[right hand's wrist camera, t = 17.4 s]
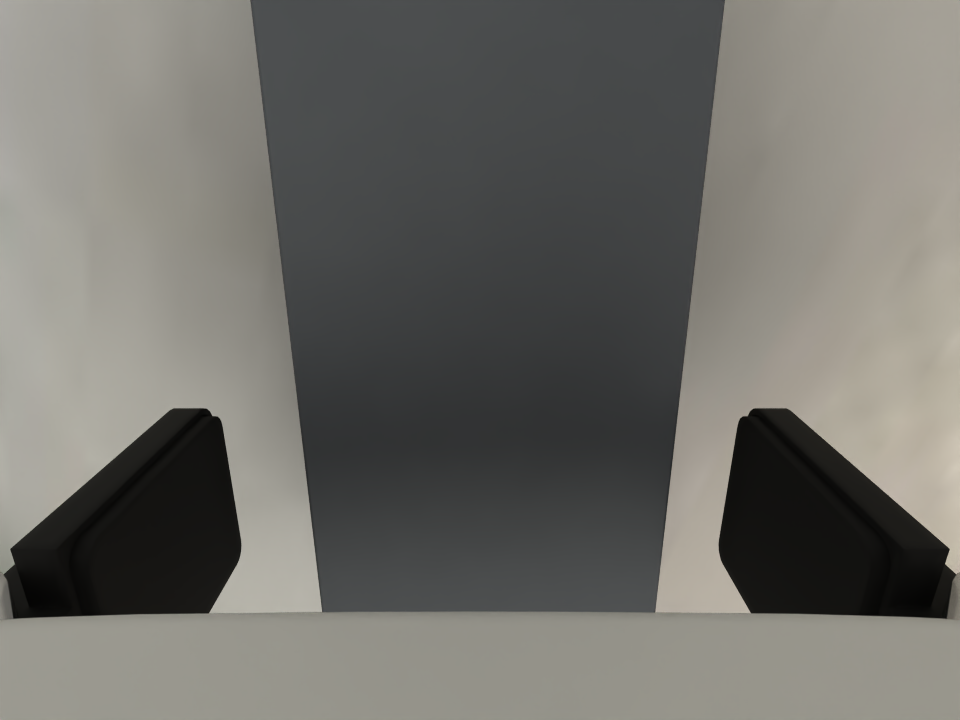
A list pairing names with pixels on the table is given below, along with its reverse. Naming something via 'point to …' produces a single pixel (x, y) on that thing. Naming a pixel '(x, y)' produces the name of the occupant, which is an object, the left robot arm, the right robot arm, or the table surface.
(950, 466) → the table surface
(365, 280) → the post
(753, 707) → the right robot arm
